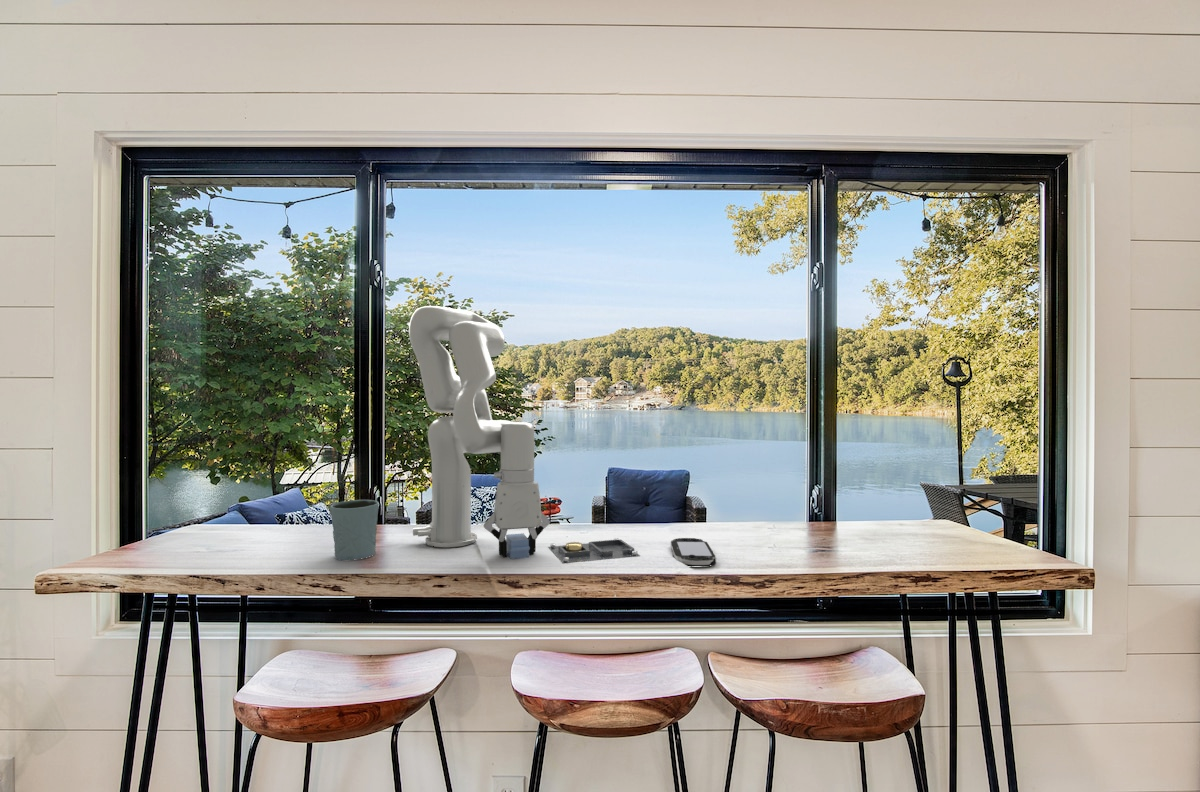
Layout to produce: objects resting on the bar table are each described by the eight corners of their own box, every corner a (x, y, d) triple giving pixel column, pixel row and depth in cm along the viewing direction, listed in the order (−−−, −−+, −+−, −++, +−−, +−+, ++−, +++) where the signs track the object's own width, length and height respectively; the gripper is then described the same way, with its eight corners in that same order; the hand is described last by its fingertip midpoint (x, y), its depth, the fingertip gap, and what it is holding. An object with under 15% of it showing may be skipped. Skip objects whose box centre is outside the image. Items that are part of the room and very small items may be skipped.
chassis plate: (562, 567, 121) (562, 558, 121) (547, 551, 134) (547, 542, 134) (640, 560, 127) (640, 551, 127) (618, 544, 140) (618, 536, 140)
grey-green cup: (386, 550, 134) (386, 500, 134) (364, 562, 124) (364, 508, 124) (345, 549, 135) (345, 499, 135) (320, 561, 125) (321, 507, 125)
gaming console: (669, 546, 141) (669, 536, 141) (705, 546, 140) (705, 536, 141) (676, 569, 122) (676, 557, 122) (718, 570, 121) (718, 558, 121)
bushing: (568, 555, 127) (568, 546, 127) (564, 551, 130) (564, 542, 130) (583, 554, 128) (583, 545, 128) (579, 550, 131) (579, 541, 131)
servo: (511, 565, 123) (511, 542, 123) (505, 554, 131) (505, 533, 131) (529, 563, 125) (529, 540, 125) (522, 553, 133) (522, 532, 133)
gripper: (481, 480, 122) (480, 565, 122) (558, 477, 127) (558, 557, 127) (477, 476, 129) (476, 555, 129) (550, 473, 134) (550, 549, 134)
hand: (517, 556), depth 128 cm, fingers open, 5 cm apart
